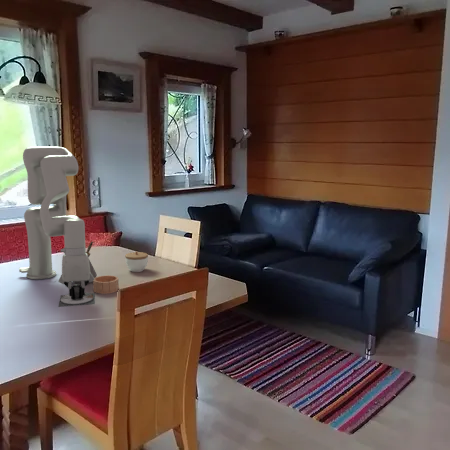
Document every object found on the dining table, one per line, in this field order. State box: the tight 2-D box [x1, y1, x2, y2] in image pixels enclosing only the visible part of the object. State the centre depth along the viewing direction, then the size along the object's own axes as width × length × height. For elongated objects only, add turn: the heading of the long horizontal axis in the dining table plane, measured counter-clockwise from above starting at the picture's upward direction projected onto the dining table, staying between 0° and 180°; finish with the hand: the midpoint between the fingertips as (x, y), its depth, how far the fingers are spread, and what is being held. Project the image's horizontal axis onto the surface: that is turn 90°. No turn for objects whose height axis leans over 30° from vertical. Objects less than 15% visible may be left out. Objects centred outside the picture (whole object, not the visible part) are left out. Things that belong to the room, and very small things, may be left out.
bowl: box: [92, 274, 120, 295], centre depth 187 cm, size 10×10×5 cm
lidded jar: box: [124, 250, 149, 273], centre depth 218 cm, size 11×11×9 cm
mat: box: [58, 292, 96, 308], centre depth 175 cm, size 13×13×1 cm
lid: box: [61, 283, 93, 306], centre depth 175 cm, size 12×12×6 cm
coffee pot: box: [73, 241, 98, 285], centre depth 202 cm, size 21×12×15 cm, turn 0°
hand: (77, 296), depth 175 cm, fingers closed on lid, 3 cm apart
